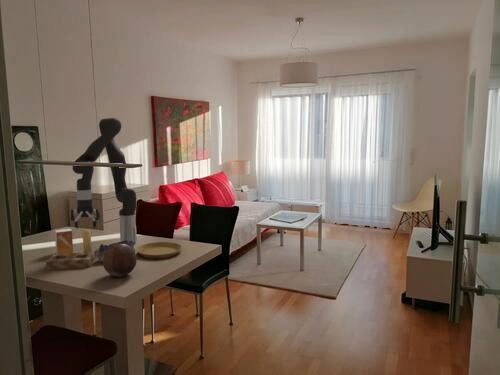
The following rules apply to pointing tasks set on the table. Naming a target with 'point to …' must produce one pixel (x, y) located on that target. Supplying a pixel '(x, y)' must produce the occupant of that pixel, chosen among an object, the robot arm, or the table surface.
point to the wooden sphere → (119, 260)
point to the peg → (87, 241)
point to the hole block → (70, 260)
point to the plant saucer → (159, 249)
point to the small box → (64, 241)
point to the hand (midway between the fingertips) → (85, 228)
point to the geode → (104, 247)
